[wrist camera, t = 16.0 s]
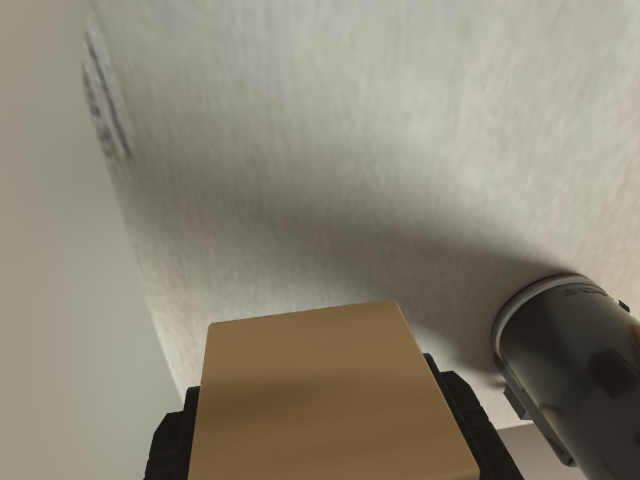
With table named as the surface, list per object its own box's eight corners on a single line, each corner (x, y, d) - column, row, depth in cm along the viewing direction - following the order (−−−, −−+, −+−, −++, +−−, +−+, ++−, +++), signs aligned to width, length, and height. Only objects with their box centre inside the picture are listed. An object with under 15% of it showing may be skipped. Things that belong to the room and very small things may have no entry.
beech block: (391, 421, 13) (455, 609, 9) (236, 446, 12) (230, 654, 8) (395, 296, 11) (483, 471, 7) (208, 322, 10) (179, 524, 6)
